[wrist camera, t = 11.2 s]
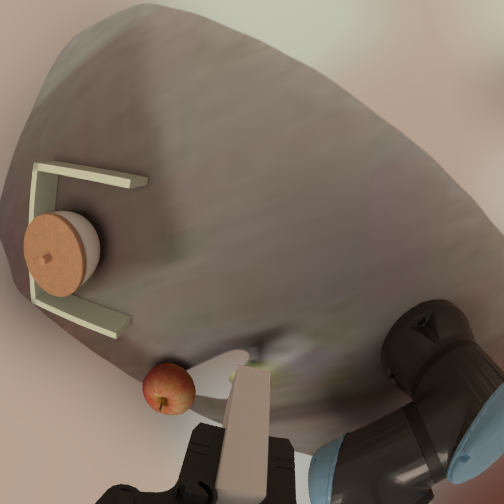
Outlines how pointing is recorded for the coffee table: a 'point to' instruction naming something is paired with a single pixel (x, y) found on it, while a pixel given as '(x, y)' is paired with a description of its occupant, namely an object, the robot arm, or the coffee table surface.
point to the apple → (169, 389)
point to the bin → (45, 203)
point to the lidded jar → (61, 251)
